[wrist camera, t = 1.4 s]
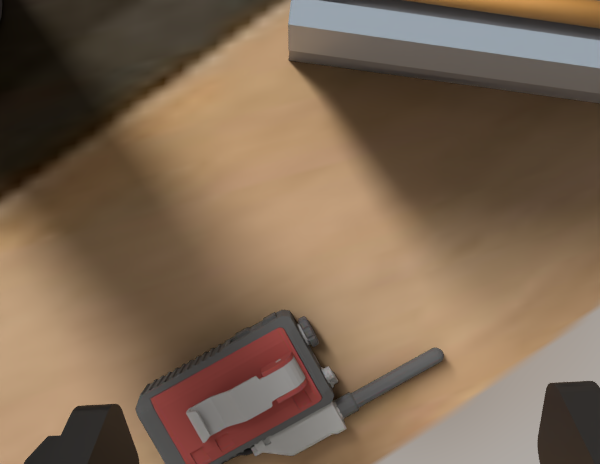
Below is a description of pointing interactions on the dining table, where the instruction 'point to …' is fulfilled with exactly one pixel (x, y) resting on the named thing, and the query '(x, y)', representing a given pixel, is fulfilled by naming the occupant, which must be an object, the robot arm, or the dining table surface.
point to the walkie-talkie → (256, 396)
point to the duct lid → (444, 45)
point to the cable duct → (493, 11)
